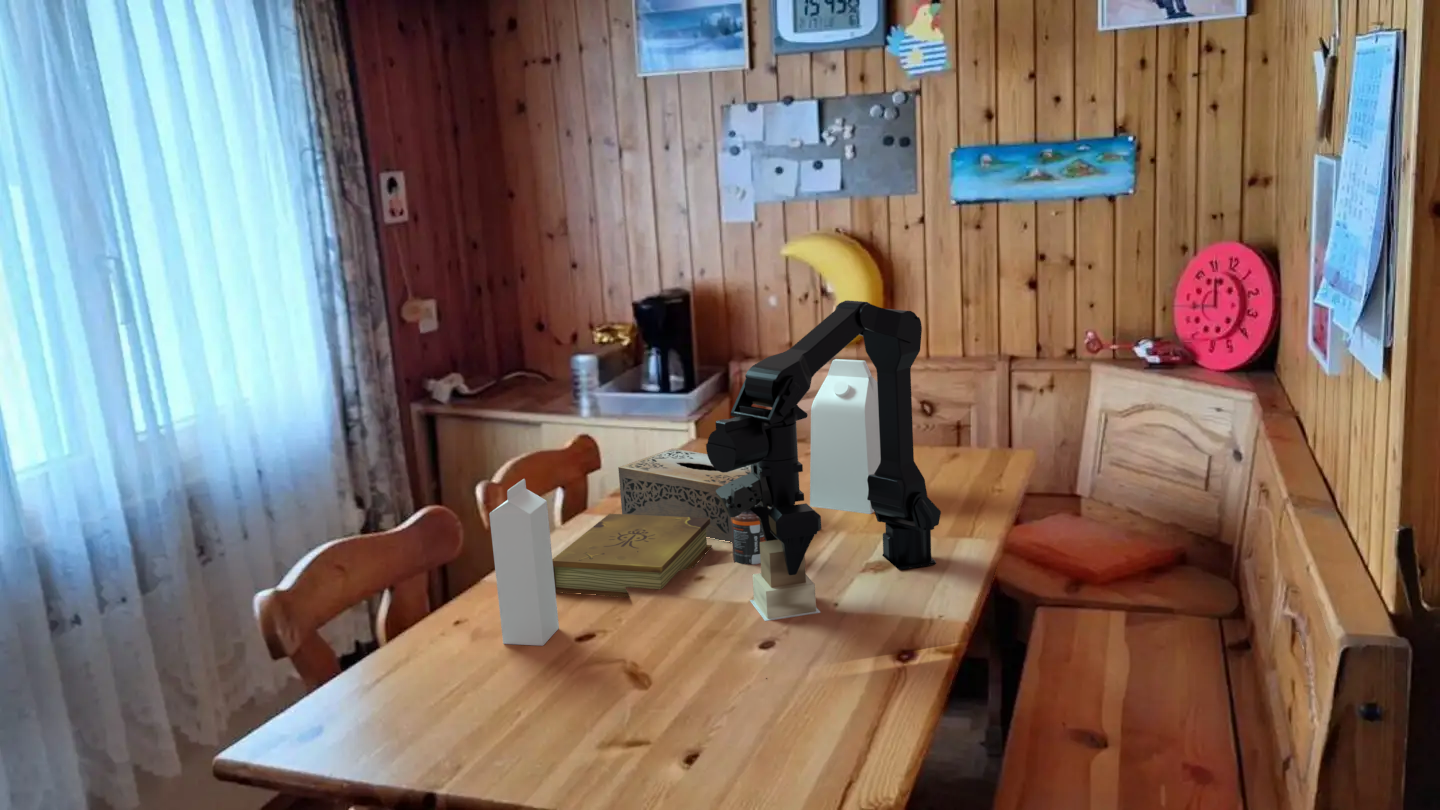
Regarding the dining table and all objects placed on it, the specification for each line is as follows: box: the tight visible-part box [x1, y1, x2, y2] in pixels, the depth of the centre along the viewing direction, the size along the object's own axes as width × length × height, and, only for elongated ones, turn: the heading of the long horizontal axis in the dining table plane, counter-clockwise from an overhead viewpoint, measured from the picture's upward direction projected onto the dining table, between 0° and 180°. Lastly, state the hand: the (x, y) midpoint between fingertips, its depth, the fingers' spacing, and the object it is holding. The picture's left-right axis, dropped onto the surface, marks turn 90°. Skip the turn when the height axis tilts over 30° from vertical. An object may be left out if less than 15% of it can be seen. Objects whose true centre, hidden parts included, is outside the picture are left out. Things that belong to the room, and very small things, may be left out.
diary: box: [552, 513, 713, 598], centre depth 192 cm, size 23×19×6 cm
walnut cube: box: [760, 539, 807, 588], centre depth 169 cm, size 5×5×5 cm
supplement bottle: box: [731, 509, 766, 565], centre depth 189 cm, size 6×6×11 cm
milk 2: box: [809, 358, 881, 515], centre depth 217 cm, size 12×12×26 cm
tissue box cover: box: [617, 448, 751, 542], centre depth 214 cm, size 26×14×10 cm, turn 50°
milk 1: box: [488, 478, 560, 646], centre depth 166 cm, size 6×6×22 cm
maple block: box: [752, 572, 817, 619], centre depth 170 cm, size 7×7×4 cm
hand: (782, 563), depth 169 cm, fingers open, 9 cm apart
